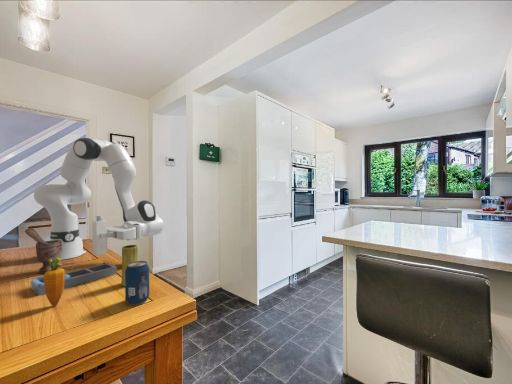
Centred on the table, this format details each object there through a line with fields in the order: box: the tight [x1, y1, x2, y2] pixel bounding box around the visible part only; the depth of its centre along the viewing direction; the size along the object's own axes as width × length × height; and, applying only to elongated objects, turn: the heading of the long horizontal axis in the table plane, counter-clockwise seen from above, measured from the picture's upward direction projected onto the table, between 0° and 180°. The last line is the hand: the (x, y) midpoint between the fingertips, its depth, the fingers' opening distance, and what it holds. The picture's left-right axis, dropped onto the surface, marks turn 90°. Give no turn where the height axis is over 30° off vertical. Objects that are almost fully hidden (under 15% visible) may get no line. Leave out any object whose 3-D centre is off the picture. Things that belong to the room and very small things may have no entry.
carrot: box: [43, 258, 66, 307], centre depth 72 cm, size 5×5×15 cm
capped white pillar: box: [91, 215, 108, 256], centre depth 98 cm, size 4×4×16 cm
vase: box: [120, 244, 139, 288], centre depth 89 cm, size 6×6×14 cm
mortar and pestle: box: [24, 227, 62, 275], centre depth 102 cm, size 12×9×20 cm
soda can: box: [124, 260, 150, 306], centre depth 75 cm, size 7×7×12 cm
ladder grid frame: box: [30, 262, 118, 297], centre depth 92 cm, size 9×25×4 cm, turn 146°
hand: (97, 235), depth 97 cm, fingers closed on capped white pillar, 4 cm apart
